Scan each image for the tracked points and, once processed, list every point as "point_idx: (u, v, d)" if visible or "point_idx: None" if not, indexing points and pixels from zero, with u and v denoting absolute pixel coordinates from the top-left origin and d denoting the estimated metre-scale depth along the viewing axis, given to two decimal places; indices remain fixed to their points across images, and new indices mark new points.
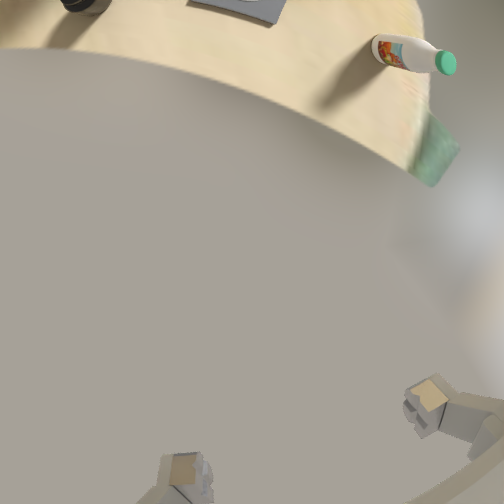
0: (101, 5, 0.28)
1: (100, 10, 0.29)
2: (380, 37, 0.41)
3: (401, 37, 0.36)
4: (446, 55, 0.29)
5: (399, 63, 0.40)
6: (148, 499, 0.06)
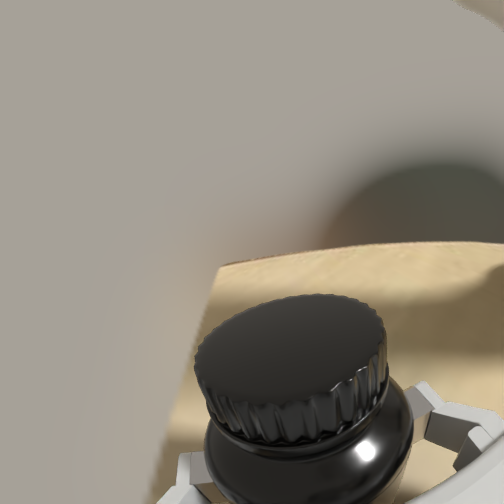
0: None
1: None
2: None
3: None
4: None
5: None
6: (168, 499, 0.06)
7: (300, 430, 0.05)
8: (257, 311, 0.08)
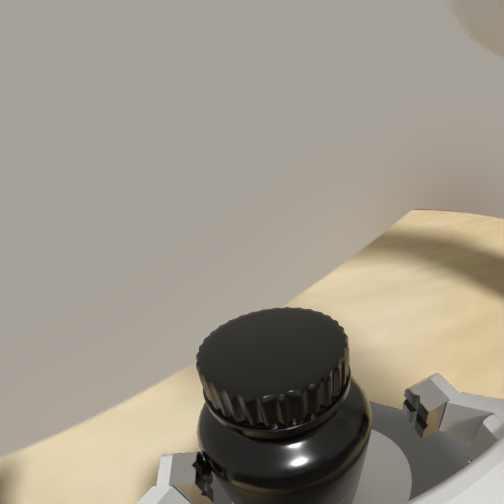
0: None
1: None
2: None
3: None
4: None
5: None
6: (148, 499, 0.06)
7: (276, 418, 0.07)
8: (247, 319, 0.10)
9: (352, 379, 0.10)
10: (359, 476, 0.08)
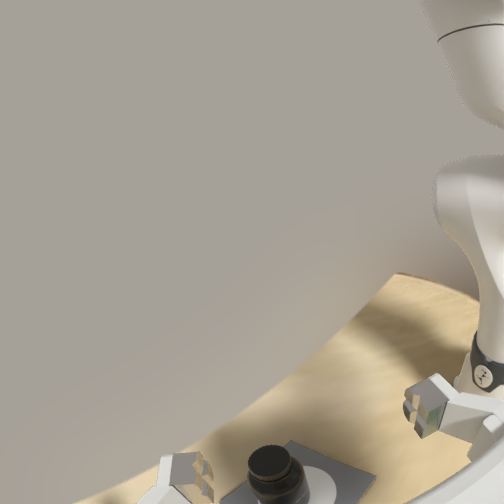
0: None
1: None
2: None
3: None
4: None
5: None
6: (148, 499, 0.06)
7: (270, 479, 0.23)
8: (262, 450, 0.26)
9: (297, 463, 0.26)
10: (303, 492, 0.24)
